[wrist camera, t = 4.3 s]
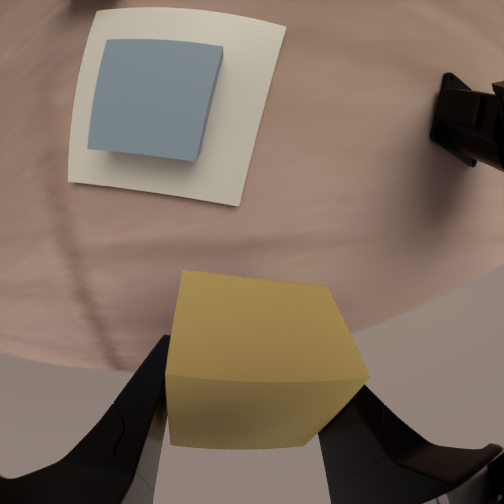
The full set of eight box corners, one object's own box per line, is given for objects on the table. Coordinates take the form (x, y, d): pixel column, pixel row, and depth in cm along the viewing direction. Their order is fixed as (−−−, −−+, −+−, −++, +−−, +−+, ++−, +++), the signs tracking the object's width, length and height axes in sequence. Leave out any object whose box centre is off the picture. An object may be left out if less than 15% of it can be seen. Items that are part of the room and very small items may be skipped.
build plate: (283, 30, 12) (286, 27, 12) (238, 202, 18) (239, 206, 17) (101, 13, 10) (96, 10, 9) (73, 178, 16) (68, 181, 15)
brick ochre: (327, 286, 9) (370, 377, 6) (286, 369, 12) (303, 445, 8) (183, 268, 9) (165, 373, 5) (177, 362, 11) (170, 445, 8)
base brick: (223, 57, 12) (223, 46, 10) (200, 152, 15) (195, 162, 13) (125, 48, 11) (106, 39, 9) (108, 140, 14) (87, 149, 12)
